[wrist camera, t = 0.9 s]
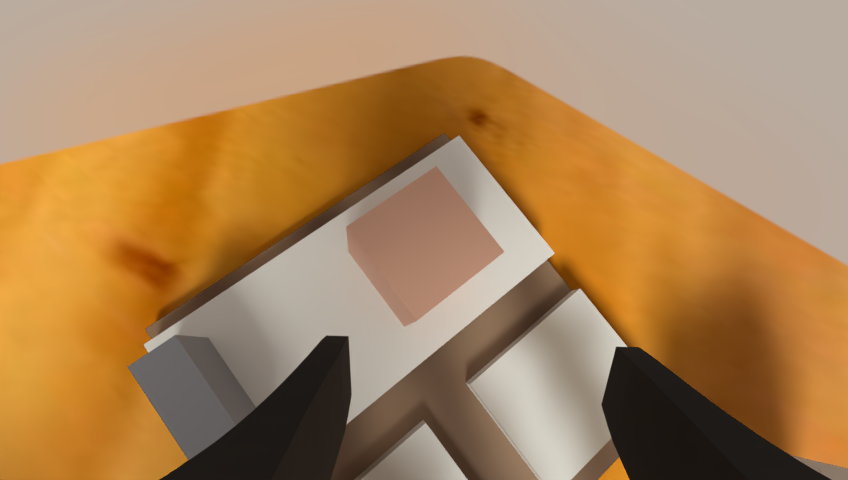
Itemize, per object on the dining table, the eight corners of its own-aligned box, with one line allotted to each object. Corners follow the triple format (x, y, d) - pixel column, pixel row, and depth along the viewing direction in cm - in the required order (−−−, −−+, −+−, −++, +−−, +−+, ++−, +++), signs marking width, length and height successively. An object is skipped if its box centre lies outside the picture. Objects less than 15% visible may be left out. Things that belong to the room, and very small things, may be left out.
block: (404, 327, 23) (416, 320, 18) (348, 252, 23) (345, 226, 19) (475, 271, 24) (504, 251, 19) (420, 201, 25) (436, 165, 20)
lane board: (389, 682, 21) (392, 715, 19) (153, 330, 23) (135, 328, 21) (654, 405, 26) (678, 409, 24) (441, 140, 28) (447, 125, 26)
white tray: (254, 497, 21) (223, 541, 16) (152, 345, 22) (94, 343, 17) (547, 256, 26) (590, 235, 21) (455, 142, 27) (476, 98, 22)
